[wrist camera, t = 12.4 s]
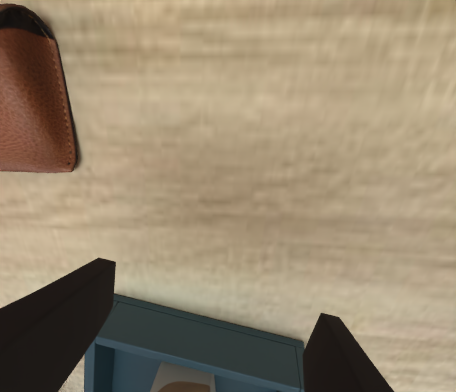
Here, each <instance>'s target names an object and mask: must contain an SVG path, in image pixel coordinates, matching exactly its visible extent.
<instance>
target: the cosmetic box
mask: <svg viewBox="0 0 456 392" xmlns="http://www.w3.org/2000/svg"><path fill="white" fill-rule="evenodd" d="M150 392H216V390H215V378H214V374H211V373H207V372H203V371H199V370H196V369H192V368H188V367H184V366H180V365H176V364H172V363H169V362H165V361H163V362H161V364H160V367H159V369H158V372H157V374H156V377H155V380H154V382H153V385H152V388H151V390H150Z"/></svg>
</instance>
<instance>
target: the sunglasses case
mask: <svg viewBox="0 0 456 392" xmlns="http://www.w3.org/2000/svg"><path fill="white" fill-rule="evenodd" d="M77 157H78V156H77V149H76V141H75V132H74V125H73V119H72V114H71V108H70V103H69V98H68V93H67V88H66V83H65V78H64V73H63V68H62V64H61V59H60V55H59V51H58V45H57V42H56V41H55V39H54V37H53V36H52V34H51V32H50V30H49V29H48V27H47V26H46V25H45V24H44V22H43V21H42V20H41V19H40V18H39V17H38V16H37V15H36V14H35V13H34V12H33V11H31V10H29V9H28V8H26V7H24V6H21V5H16V4H0V171H13V172H20V171H21V172H37V173H41V172H43V173H59V172H72V171H73V170H74V168H75V165H76V163H77Z"/></svg>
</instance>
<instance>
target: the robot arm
mask: <svg viewBox="0 0 456 392" xmlns="http://www.w3.org/2000/svg"><path fill="white" fill-rule="evenodd" d="M115 266H116V262H114V261H110V260H106V259H102V258H97V259H95V260H93V261H92V262H90V263H88V264H86V265H84V266H82V267H80V268H79V269H77V270H75V271H73V272H71V273H69V274H68V275H66V276H64V277H62V278H60V279H58V280H56V281H54V282H53V283H51V284H49V285H47V286H45V287H43V288H41V289H39V290H37V291H35V292H33V293H31V294H29V295H27V296H25V297H23V298H21V299H19V300H17V301H15V302H13V303H11V304H9V305H7V306H4V307H2V308H0V392H58V391H59V389H60V388H61V386H62V385H63V384H64V382H65V381H66V379H67V378H68V376H69V375H70V374H71V372H72V371H73V369H74V368H75V367H76V365H77V364H78V362H79V361H80V360H81V358H82V357H83V355H84V354H85V352H86V351H87V350H88V348H89V347H90V345H91V344H92V342H93V341H94V339H95V338H96V337H97V335H98V333H99V331H100V330H101V328H102V326H103V324H104V323H105V321H106V319H107V317H108V315H109V313H110V311H111V310H112V308H113V299H114V283H115ZM302 358H303V378H304V390H305V392H394V391H393V390H392V388H391V387H390V386H389V384H388V383H387V382H386V380H385V379H384V378H383V376H382V375H381V374H380V372H379V371H378V370H377V368H376V367H375V366H374V364H373V363H372V362H371V360H370V359H369V358H368V356H367V355H366V353H365V352H364V351H363V349H362V348H361V347H360V345H359V344H358V342H357V341H356V340H355V338H354V337H353V335H352V334H351V333H350V331H349V330H348V329H347V327H346V326H345V325H344V323H343V322H342V321H341V319H340V318H339V317H336V316H332V315H328V314H324V313H321V314H320V316H319V319H318V321H317V323H316V325H315V328H314V330H313V332H312V334H311V336H310V339H309V341H308V343H307V345H306V348H305V350H304V352H303V354H302Z"/></svg>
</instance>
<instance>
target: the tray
mask: <svg viewBox="0 0 456 392" xmlns="http://www.w3.org/2000/svg"><path fill="white" fill-rule="evenodd" d="M304 350H305V348H304V342H302V341H299V340H295V339H291V338H287V337H283V336H279V335H275V334H271V333H267V332H263V331H259V330H255V329H251V328H247V327H243V326H239V325H235V324H231V323H227V322H223V321H219V320H216V319H212V318H208V317H204V316H200V315H196V314H192V313H188V312H184V311H180V310H176V309H172V308H168V307H164V306H160V305H156V304H152V303H148V302H144V301H140V300H136V299H133V298H129V297H125V296H121V295H117V294H114V299H113V308H112V310H111V311H110V313H109V315H108V317H107V319H106V321H105V323H104V324H103V326H102V328H101V330H100V331H99V333H98V335H97V337H96V338H95V339H94V341H93V342H92V344H91V345H90V347H89V348H88V350H87V351H86V352H85V368H84V392H150V390H151V388H152V385H153V382H154V380H155V377H156V374H157V372H158V369H159V367H160V364H161V362H163V361H165V362H169V363H172V364H176V365H180V366H184V367H188V368H192V369H196V370H199V371H203V372H207V373H211V374H214V378H215V390H216V392H305V390H304V378H303V358H302V354H303V352H304Z"/></svg>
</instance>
